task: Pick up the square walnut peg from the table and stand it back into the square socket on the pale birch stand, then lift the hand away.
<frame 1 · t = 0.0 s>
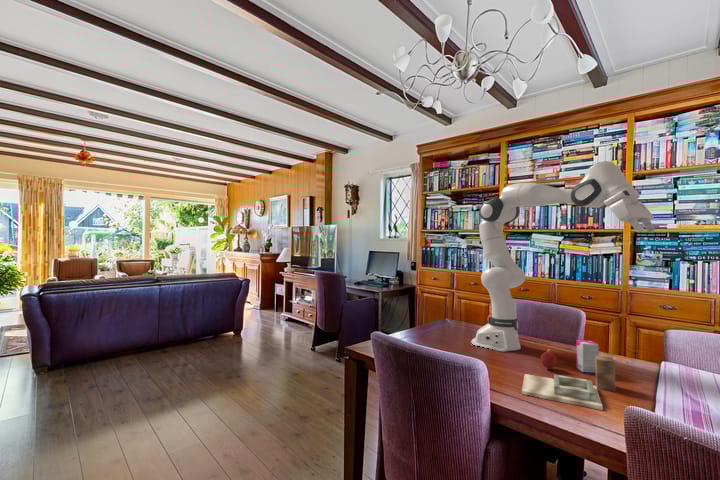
hand: (646, 231, 114), 54 cm above the table, tool tilted 30°, fingers open, 8 cm apart
walnut peg: (605, 386, 115), on the table
socket stand: (559, 391, 112), on the table
supplement box: (587, 371, 130), on the table
onion: (549, 369, 132), on the table
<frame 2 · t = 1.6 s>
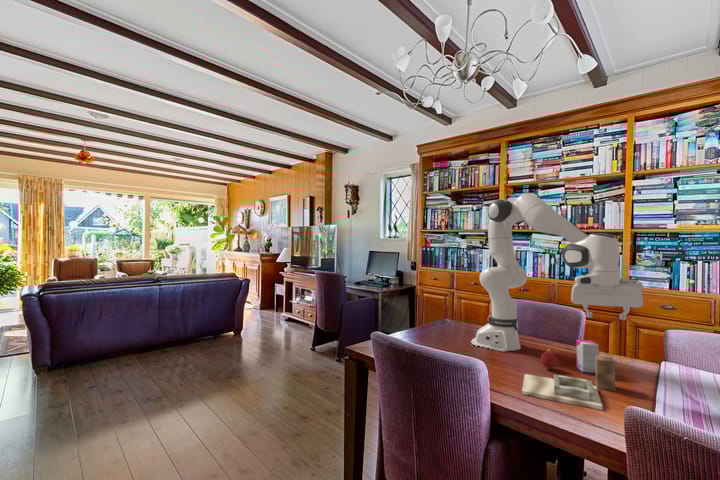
hand: (605, 318, 115), 24 cm above the table, tool pointing down, fingers open, 8 cm apart
nothing on the table moved.
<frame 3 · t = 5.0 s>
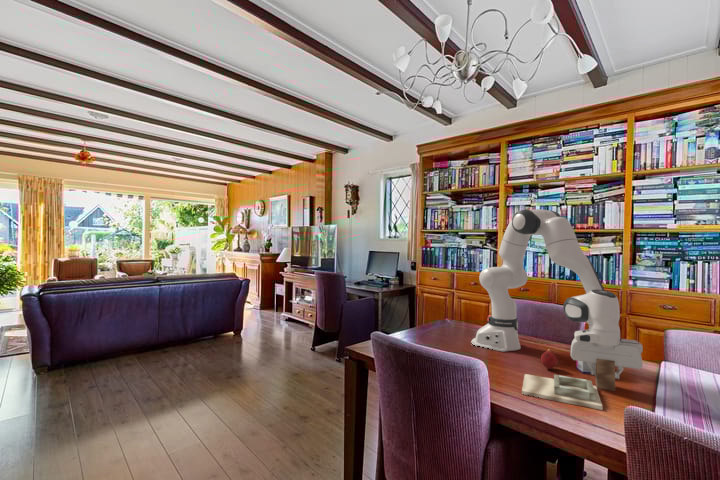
hand: (604, 376, 115), 4 cm above the table, tool pointing down, fingers closed on walnut peg, 5 cm apart
walnut peg: (605, 386, 115), on the table, touching gripper
everything else where it was.
when the fingers open (6 cm above the table, at t = 13.4 s): walnut peg stays where it is, resting on socket stand.
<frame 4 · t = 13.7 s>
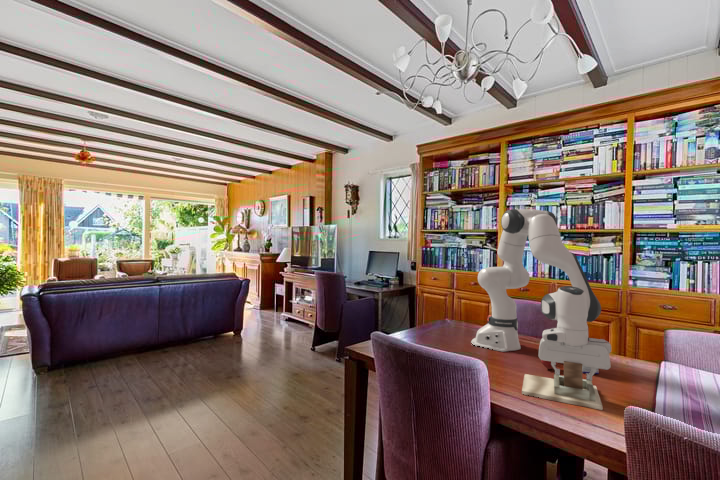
hand: (573, 377, 110), 6 cm above the table, tool pointing down, fingers open, 8 cm apart
walnut peg: (573, 390, 110), point 1 cm above the table, touching socket stand
everything else where it was.
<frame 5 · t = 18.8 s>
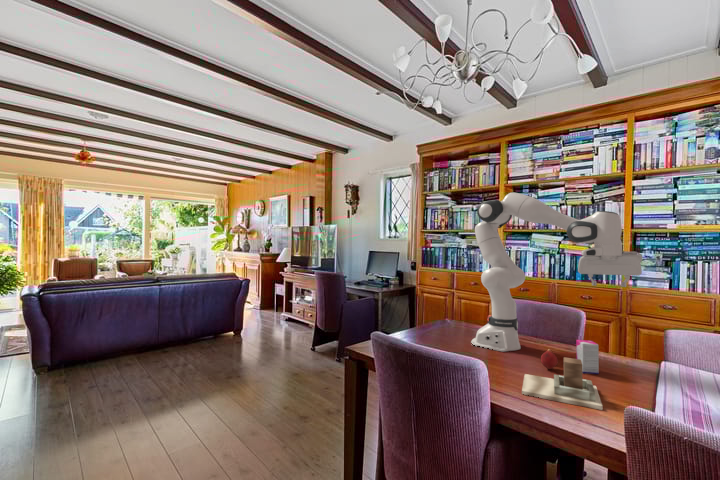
hand: (608, 286, 131), 33 cm above the table, tool pointing down, fingers open, 8 cm apart
nothing on the table moved.
at the end: walnut peg 0.0 cm from the target spot on the socket stand, point 1.2 cm above the socket stand's base; walnut peg tilted 0°; the gripper is holding nothing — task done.
